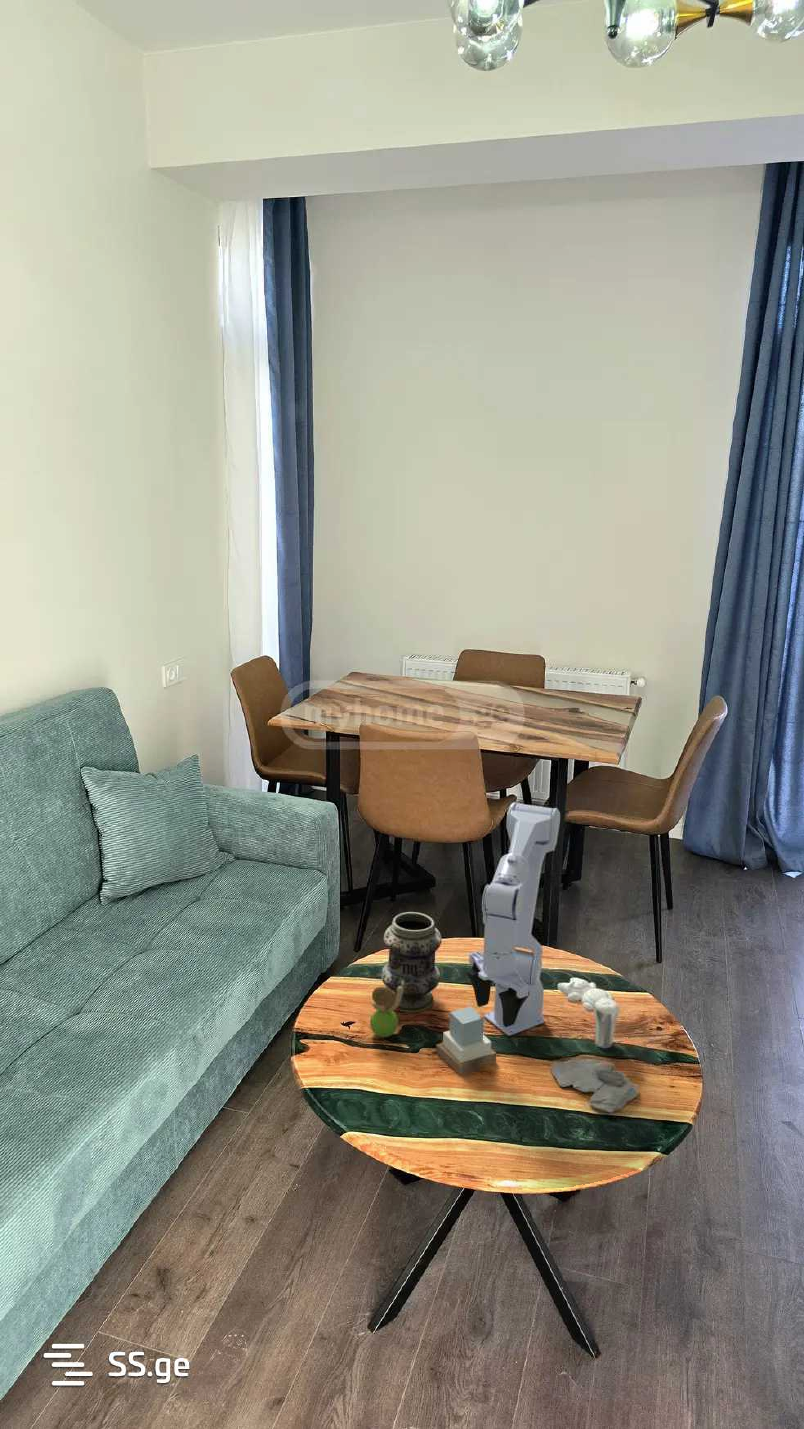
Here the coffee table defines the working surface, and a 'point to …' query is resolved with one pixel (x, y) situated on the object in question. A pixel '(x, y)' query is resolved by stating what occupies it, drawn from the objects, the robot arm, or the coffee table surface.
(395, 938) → the apothecary jar
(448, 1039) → the cream slab
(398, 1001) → the snail figurine
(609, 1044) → the milkshake
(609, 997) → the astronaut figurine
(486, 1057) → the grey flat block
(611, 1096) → the fossil
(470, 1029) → the slate block
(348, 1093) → the coffee table surface
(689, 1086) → the coffee table surface
